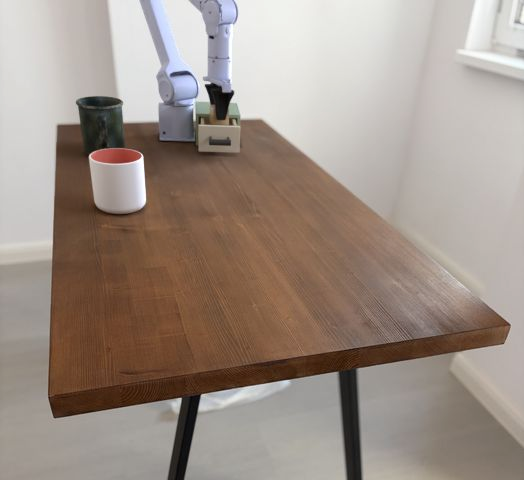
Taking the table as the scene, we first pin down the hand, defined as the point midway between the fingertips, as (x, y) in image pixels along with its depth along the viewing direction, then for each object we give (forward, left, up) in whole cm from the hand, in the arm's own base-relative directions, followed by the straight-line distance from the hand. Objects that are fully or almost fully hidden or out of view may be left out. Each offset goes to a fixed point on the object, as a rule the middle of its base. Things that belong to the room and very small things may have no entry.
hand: (218, 117), depth 138 cm
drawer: (0, 0, -7) cm, 7 cm away
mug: (-28, -6, -8) cm, 30 cm away
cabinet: (0, +11, -8) cm, 14 cm away
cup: (-21, -39, -8) cm, 45 cm away
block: (0, 0, -1) cm, 1 cm away
